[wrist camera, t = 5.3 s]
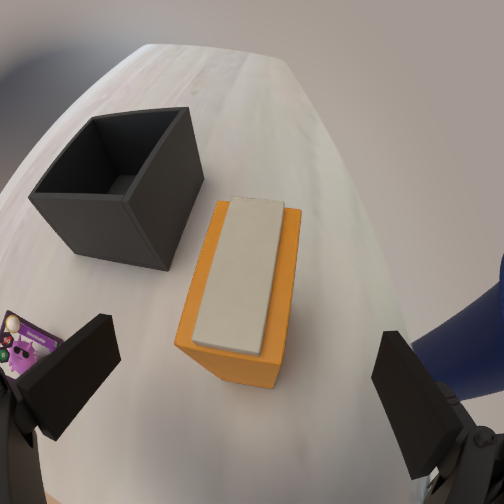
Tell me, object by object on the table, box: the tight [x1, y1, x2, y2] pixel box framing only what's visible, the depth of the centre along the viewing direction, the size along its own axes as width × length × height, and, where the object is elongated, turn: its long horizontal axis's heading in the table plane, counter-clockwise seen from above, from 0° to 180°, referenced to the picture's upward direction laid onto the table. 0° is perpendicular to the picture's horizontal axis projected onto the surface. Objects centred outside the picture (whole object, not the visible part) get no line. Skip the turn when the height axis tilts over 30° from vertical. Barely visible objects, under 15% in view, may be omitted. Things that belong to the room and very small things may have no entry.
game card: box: [0, 310, 63, 384], centre depth 17 cm, size 7×5×9 cm
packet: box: [174, 197, 302, 389], centre depth 16 cm, size 4×7×13 cm, turn 170°
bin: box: [28, 107, 204, 271], centre depth 25 cm, size 12×12×10 cm
